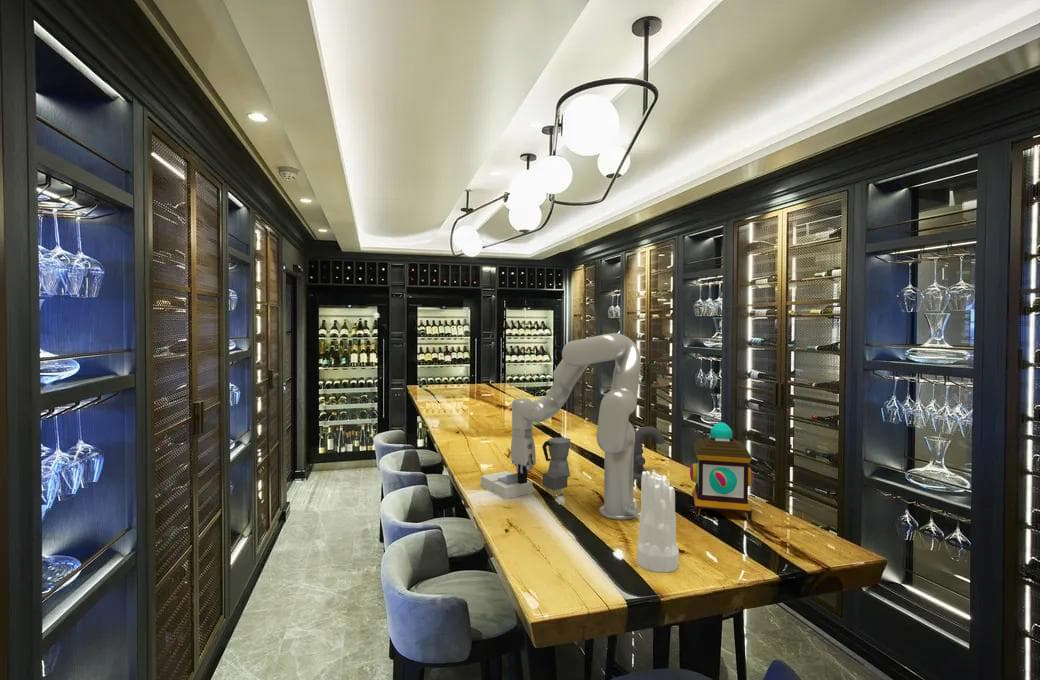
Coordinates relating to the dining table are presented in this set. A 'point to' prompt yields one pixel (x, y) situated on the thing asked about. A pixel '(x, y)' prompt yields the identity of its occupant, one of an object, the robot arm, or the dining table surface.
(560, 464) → the coffeepot
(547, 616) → the dining table surface
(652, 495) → the decorative vase
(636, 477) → the faucet
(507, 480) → the plate
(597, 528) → the dining table surface
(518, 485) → the socket
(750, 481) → the decorative lantern
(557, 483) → the plug
